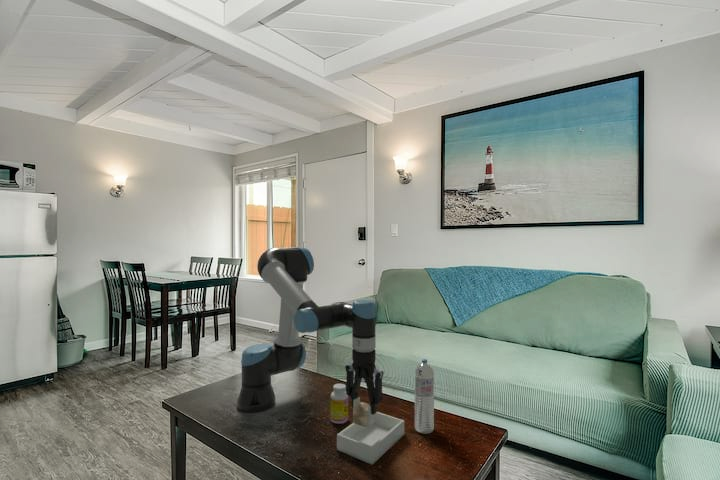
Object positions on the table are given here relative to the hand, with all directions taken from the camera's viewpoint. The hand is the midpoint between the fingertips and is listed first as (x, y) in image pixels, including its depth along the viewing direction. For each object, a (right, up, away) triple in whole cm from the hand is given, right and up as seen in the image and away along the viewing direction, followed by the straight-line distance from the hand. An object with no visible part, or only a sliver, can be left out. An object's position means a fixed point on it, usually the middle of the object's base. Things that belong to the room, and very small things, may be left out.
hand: (363, 420), depth 120 cm
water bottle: (+22, -10, +13) cm, 27 cm away
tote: (+3, -9, +4) cm, 11 cm away
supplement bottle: (-9, -9, +19) cm, 23 cm away
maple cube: (0, 0, 0) cm, 0 cm away
